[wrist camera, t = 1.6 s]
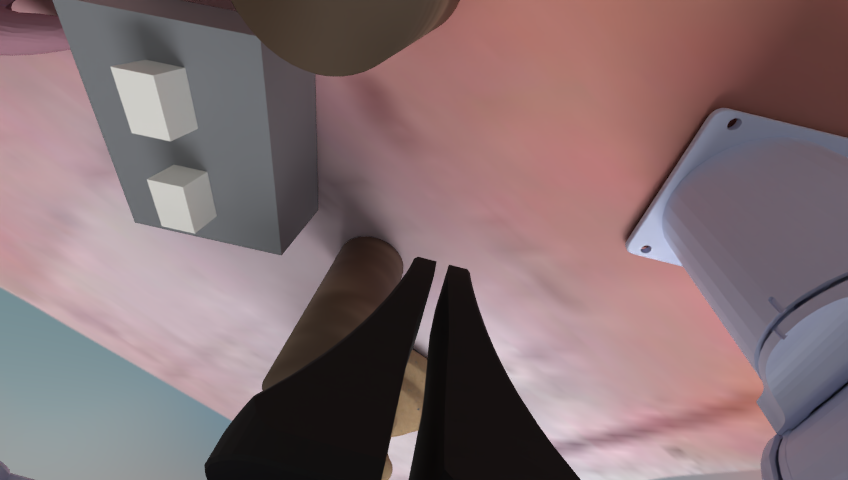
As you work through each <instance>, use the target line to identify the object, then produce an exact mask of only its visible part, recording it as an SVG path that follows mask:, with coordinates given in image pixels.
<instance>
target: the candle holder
mask: <svg viewBox="0 0 848 480" xmlns="http://www.w3.org/2000/svg"><path fill="white" fill-rule="evenodd" d="M426 369H427V359H426V358H425V357H423V356H422V355H421V354H419V353H417V352H416V351H414V350H413V349H412V351H411V354H410V357H409V360H408V363H407V366H406V369H405V374H404V378H403V383H402V387H401V392H400V396H399V401H398V406H397V410H396V415H395V420H394V424H393V429H392V434H391V437H395V436H400V435H404V434H407V433H410V432H415V431H418V430H419V425H420V419H421V414H422V407H423V400H424V390H425V379H426ZM390 440H391V438H390ZM391 474H392V463H391V461H390V459H389V456H388V454H387V457H386V462H385V466H384V471H383V475H382V479H381V480H388V479H389V478H390V477H391Z"/></svg>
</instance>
